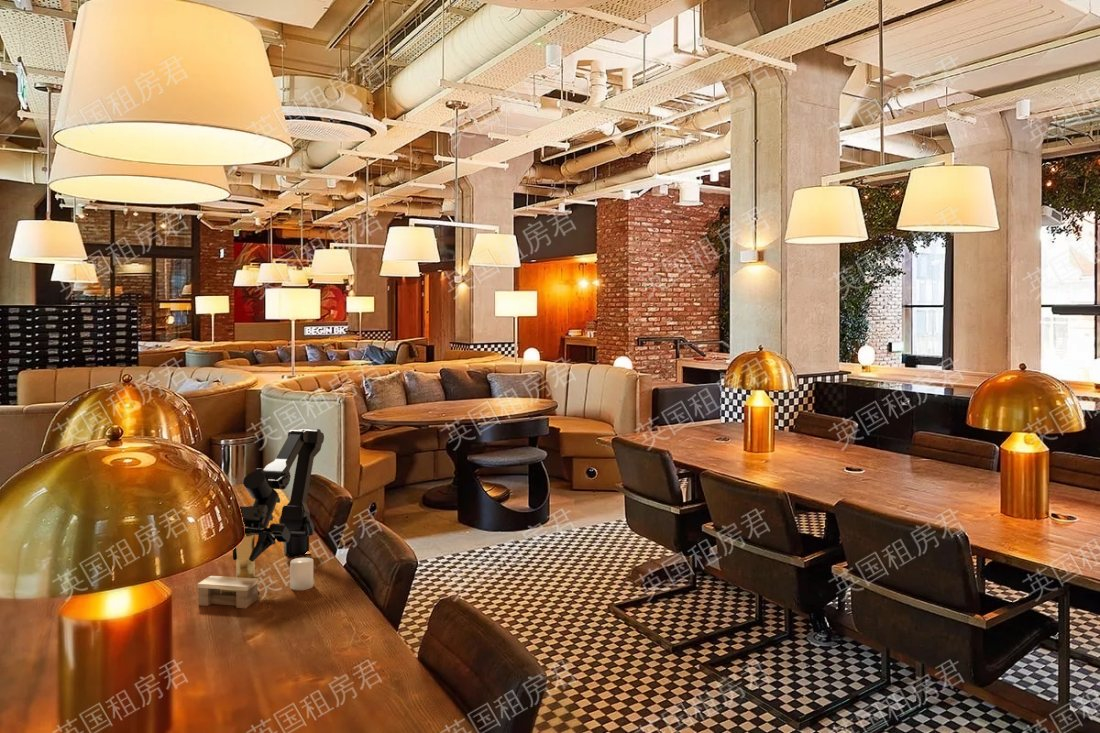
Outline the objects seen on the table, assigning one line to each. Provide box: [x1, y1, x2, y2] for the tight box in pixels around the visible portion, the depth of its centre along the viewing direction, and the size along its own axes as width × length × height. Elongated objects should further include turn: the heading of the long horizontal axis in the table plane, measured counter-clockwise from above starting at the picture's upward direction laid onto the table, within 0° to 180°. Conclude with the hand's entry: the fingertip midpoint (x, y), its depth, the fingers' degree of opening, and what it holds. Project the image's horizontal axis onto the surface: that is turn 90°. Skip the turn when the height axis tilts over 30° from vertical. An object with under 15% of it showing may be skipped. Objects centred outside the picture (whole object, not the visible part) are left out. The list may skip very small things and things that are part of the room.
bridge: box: [197, 575, 260, 609], centre depth 191 cm, size 6×13×6 cm, turn 84°
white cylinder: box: [289, 557, 314, 591], centre depth 204 cm, size 6×6×7 cm
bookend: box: [221, 532, 259, 595], centre depth 197 cm, size 12×6×13 cm, turn 174°
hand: (242, 560), depth 198 cm, fingers closed on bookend, 4 cm apart
